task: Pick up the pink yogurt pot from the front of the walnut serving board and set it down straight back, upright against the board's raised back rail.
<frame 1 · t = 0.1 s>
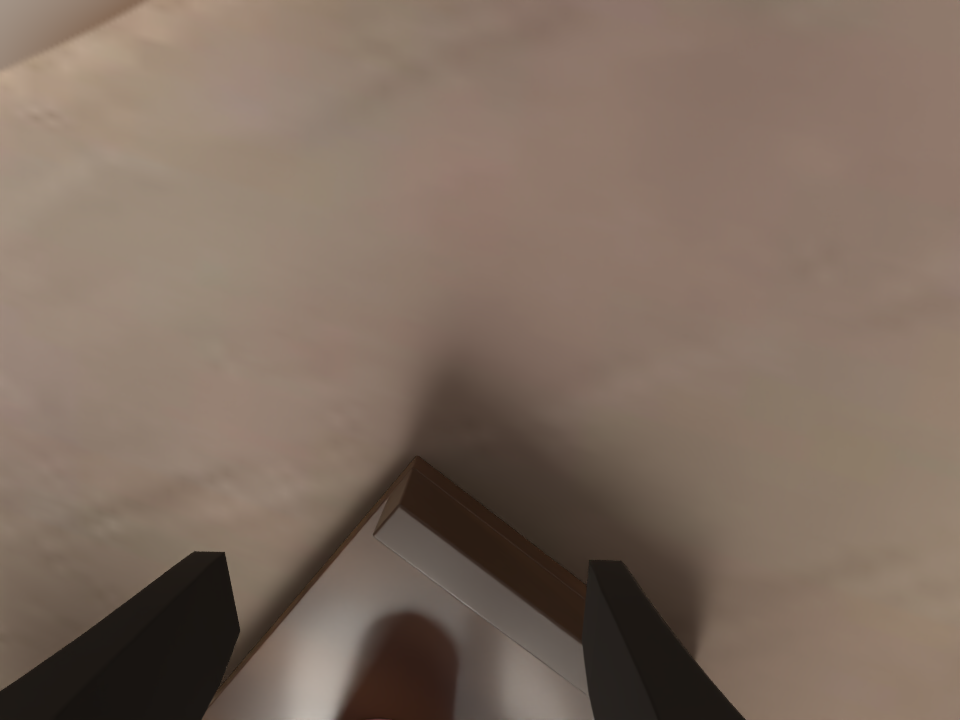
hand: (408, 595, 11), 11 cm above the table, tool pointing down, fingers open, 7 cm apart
serving board: (447, 684, 23), on the table
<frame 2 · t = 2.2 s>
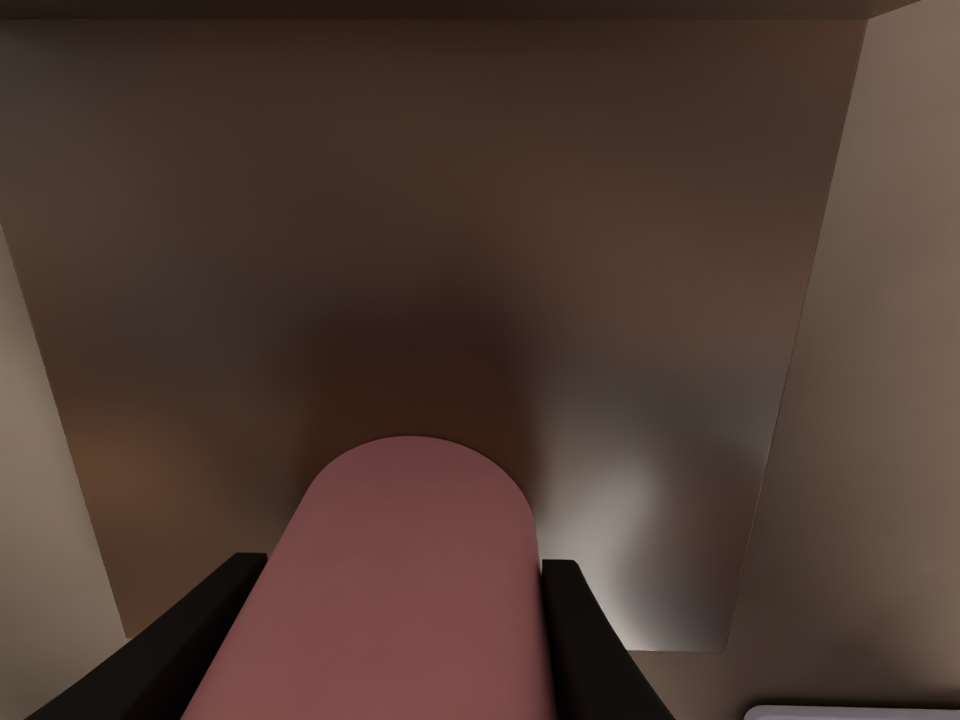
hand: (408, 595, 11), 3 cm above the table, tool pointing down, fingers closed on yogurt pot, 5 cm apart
yogurt pot: (417, 538, 12), point 1 cm above the table, touching gripper, serving board
serving board: (418, 347, 12), on the table
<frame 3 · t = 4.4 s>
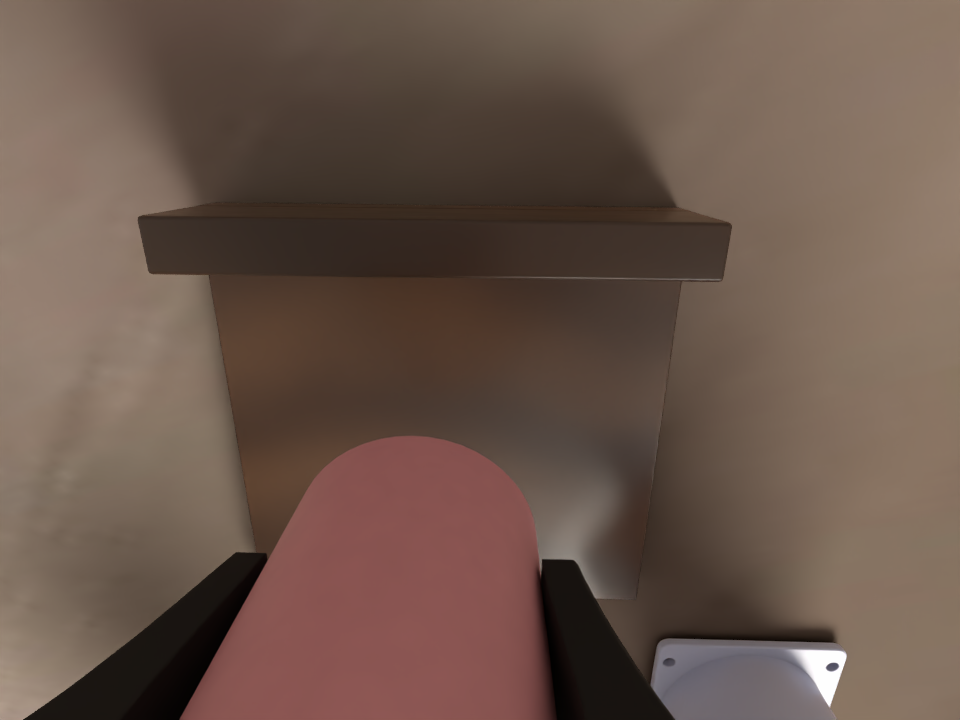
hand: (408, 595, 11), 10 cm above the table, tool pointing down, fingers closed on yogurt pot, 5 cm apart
yogurt pot: (417, 538, 12), point 8 cm above the table, touching gripper
serving board: (448, 413, 20), on the table
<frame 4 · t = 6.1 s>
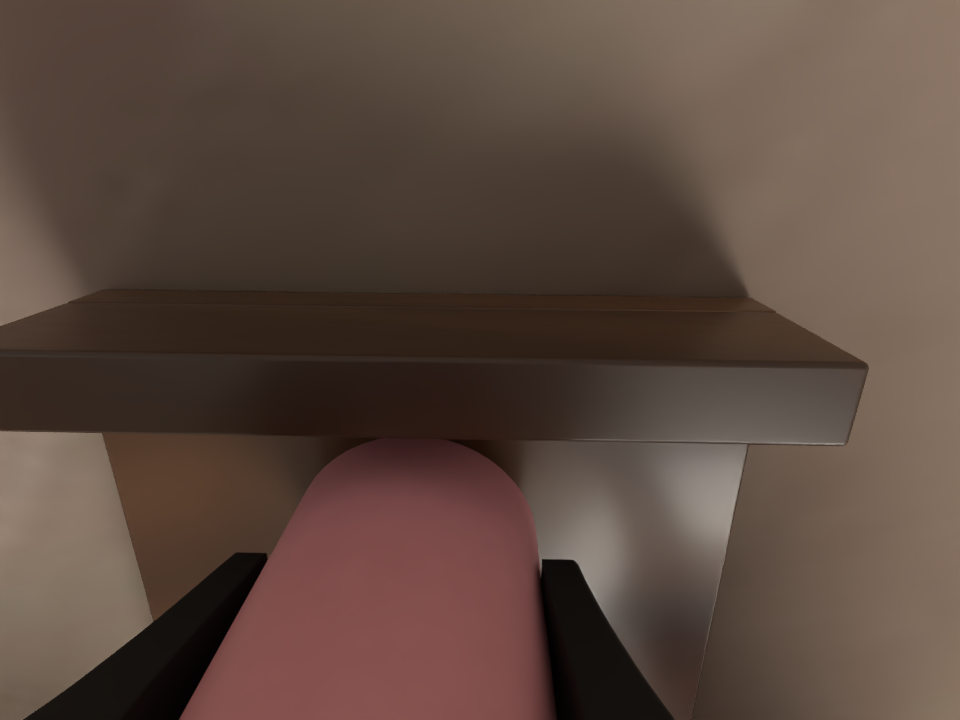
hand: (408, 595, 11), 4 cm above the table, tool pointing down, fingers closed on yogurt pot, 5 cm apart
yogurt pot: (417, 538, 12), point 2 cm above the table, touching gripper
serving board: (431, 555, 15), on the table
when the fingers open (3 cm above the table, at t = 6.9 s): yogurt pot stays where it is, resting on serving board.
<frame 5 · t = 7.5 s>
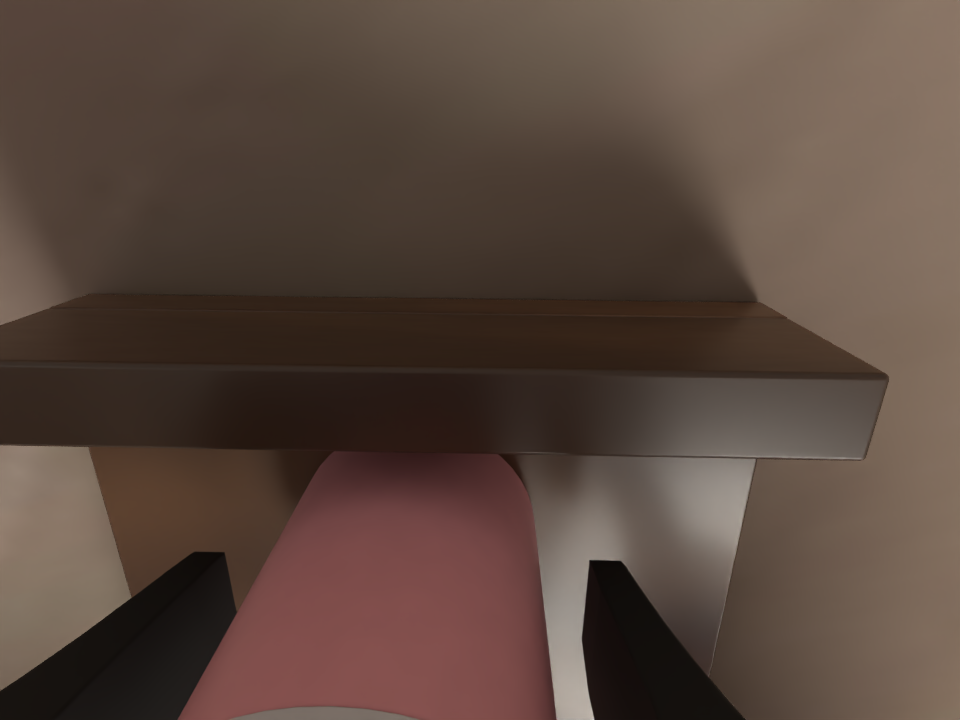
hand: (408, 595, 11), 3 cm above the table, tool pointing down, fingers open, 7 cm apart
yogurt pot: (419, 524, 13), point 1 cm above the table, touching serving board
serving board: (429, 566, 15), on the table
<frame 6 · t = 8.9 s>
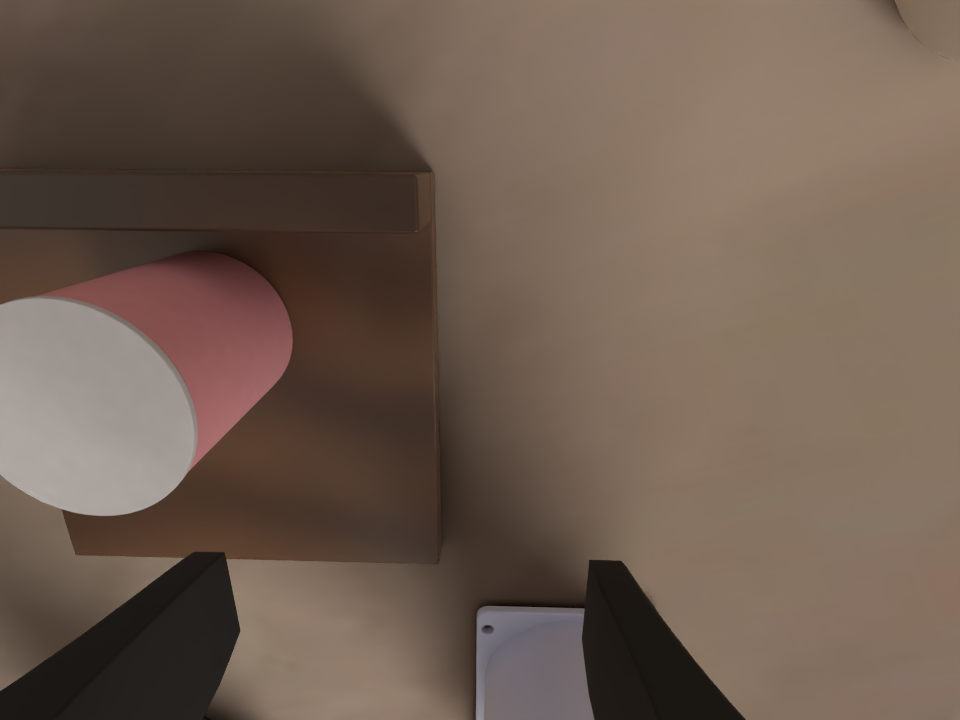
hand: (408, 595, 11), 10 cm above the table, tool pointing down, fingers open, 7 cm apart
yogurt pot: (215, 329, 19), point 1 cm above the table, touching serving board
serving board: (242, 378, 21), on the table
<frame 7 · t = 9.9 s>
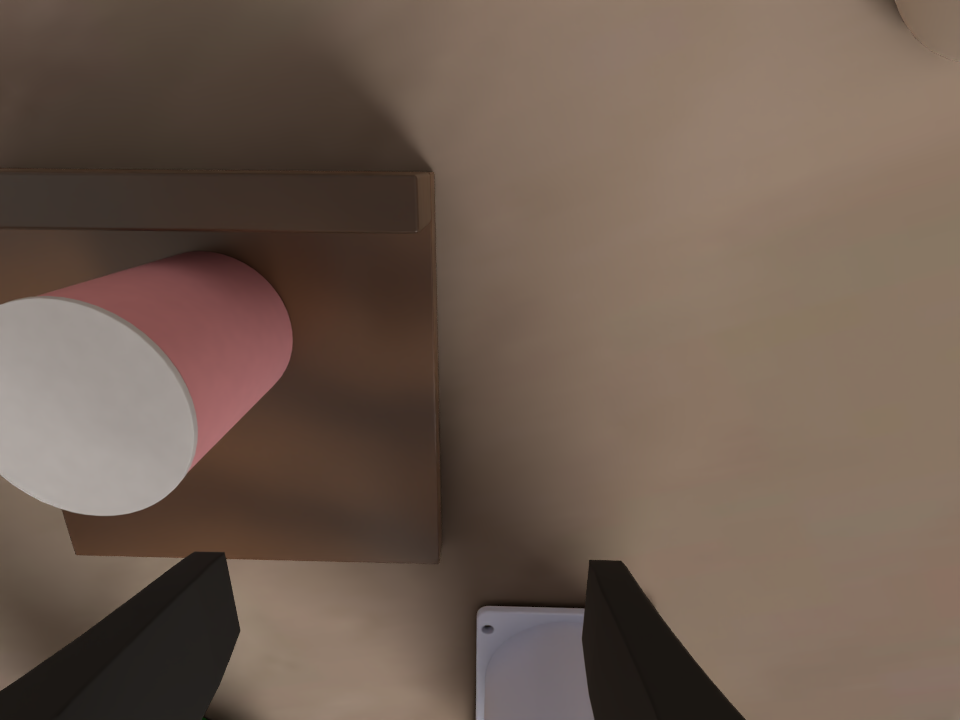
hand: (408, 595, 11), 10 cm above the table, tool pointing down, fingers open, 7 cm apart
yogurt pot: (215, 329, 19), point 1 cm above the table, touching serving board
serving board: (242, 378, 21), on the table
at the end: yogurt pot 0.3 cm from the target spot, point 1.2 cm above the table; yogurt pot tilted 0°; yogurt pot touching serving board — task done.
